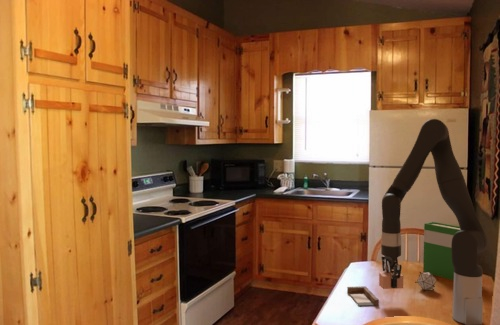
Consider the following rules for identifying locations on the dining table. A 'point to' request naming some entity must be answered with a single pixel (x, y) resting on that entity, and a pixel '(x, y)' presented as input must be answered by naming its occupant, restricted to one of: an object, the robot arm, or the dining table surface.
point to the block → (389, 281)
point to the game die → (426, 281)
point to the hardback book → (439, 249)
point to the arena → (363, 296)
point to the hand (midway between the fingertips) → (391, 285)
